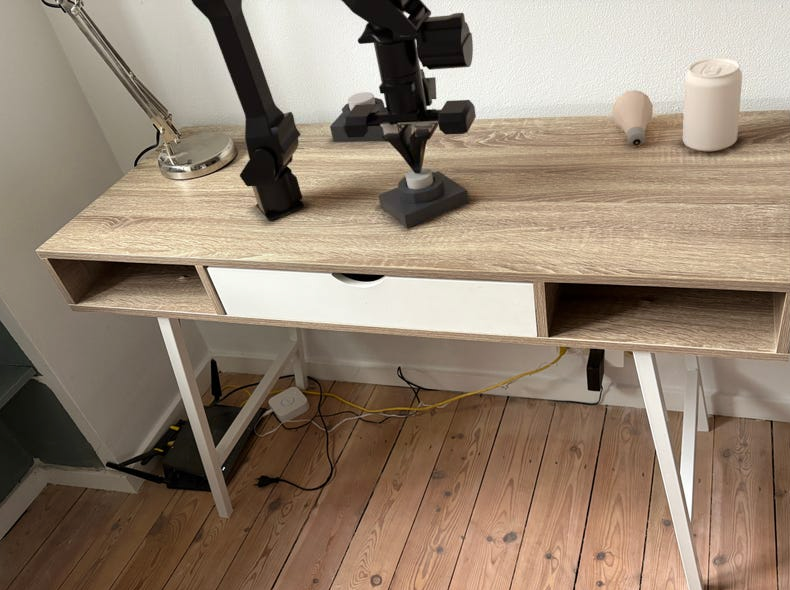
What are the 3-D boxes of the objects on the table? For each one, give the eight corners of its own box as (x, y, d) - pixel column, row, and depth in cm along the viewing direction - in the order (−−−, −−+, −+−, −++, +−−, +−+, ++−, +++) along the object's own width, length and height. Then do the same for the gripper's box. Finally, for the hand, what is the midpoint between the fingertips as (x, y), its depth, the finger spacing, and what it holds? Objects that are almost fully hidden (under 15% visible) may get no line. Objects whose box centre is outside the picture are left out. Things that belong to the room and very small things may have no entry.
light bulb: (654, 121, 127) (647, 76, 133) (611, 132, 129) (606, 88, 135) (661, 152, 132) (654, 108, 138) (620, 163, 134) (614, 118, 140)
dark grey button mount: (402, 121, 154) (397, 96, 151) (388, 140, 149) (382, 114, 146) (349, 123, 158) (343, 97, 155) (333, 141, 152) (327, 116, 149)
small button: (415, 193, 123) (413, 182, 122) (403, 184, 126) (401, 174, 125) (438, 183, 125) (436, 173, 123) (425, 175, 127) (423, 165, 126)
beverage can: (743, 134, 129) (750, 58, 122) (727, 157, 124) (733, 79, 117) (692, 129, 133) (696, 55, 126) (675, 151, 128) (677, 75, 121)
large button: (379, 102, 151) (377, 91, 150) (370, 113, 148) (368, 102, 147) (355, 103, 153) (353, 92, 152) (346, 114, 150) (343, 103, 148)
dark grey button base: (407, 228, 123) (402, 205, 120) (380, 207, 129) (375, 184, 127) (469, 202, 126) (465, 178, 124) (440, 183, 133) (436, 160, 130)
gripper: (477, 45, 117) (489, 146, 127) (357, 53, 123) (377, 149, 133) (458, 75, 109) (473, 181, 119) (331, 82, 115) (354, 182, 125)
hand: (418, 172), depth 124 cm, fingers closed
